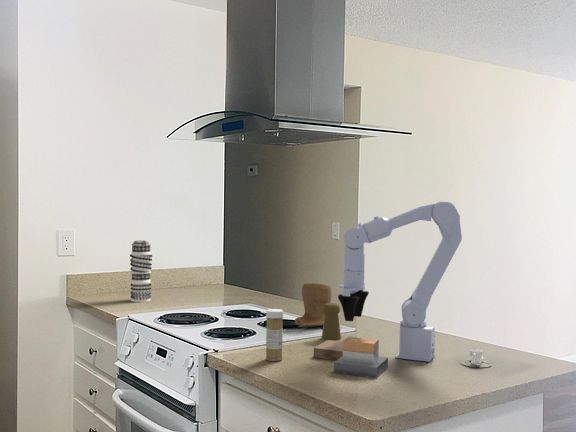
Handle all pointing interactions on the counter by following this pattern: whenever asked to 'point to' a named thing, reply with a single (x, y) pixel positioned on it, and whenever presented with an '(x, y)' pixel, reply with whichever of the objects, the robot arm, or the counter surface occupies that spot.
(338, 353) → the stand
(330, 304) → the olive tapered column
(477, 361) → the teacup and saucer
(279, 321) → the sprinkles bottle
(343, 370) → the stand
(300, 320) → the tan boot
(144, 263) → the decorative candle
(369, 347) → the block
